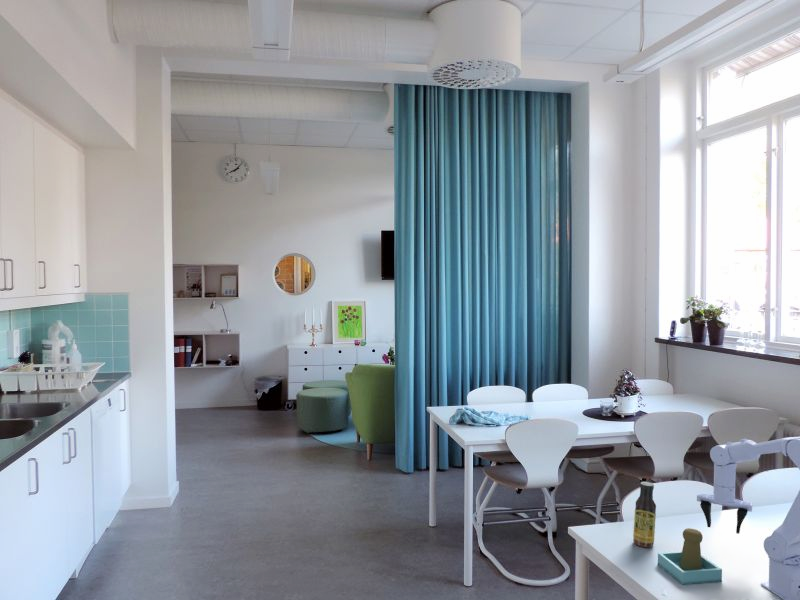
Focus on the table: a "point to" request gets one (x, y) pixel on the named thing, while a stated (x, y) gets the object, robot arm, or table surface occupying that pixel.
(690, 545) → the cork
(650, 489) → the sauce bottle
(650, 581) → the table surface
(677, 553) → the teal bin
